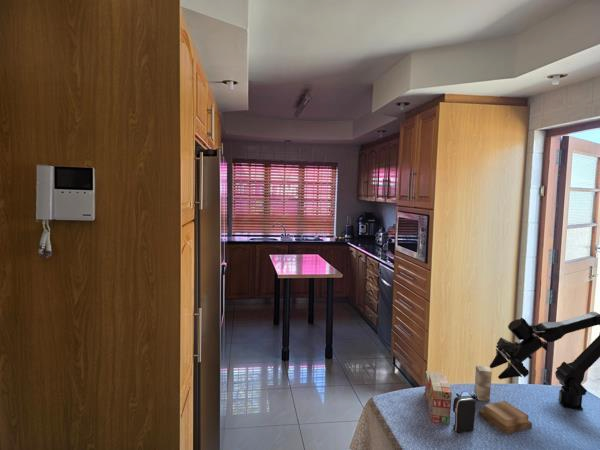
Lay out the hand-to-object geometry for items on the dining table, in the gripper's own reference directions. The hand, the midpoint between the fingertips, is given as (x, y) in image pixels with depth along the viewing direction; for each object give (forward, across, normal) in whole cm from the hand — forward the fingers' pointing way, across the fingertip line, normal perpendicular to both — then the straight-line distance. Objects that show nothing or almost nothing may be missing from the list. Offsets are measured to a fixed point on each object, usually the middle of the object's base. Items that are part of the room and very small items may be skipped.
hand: (494, 372), depth 155 cm
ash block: (+10, 0, +5) cm, 11 cm away
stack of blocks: (+25, +10, -9) cm, 28 cm away
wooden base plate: (+9, +16, +7) cm, 19 cm away
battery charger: (+20, +23, -5) cm, 31 cm away
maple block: (+7, +16, +6) cm, 18 cm away
